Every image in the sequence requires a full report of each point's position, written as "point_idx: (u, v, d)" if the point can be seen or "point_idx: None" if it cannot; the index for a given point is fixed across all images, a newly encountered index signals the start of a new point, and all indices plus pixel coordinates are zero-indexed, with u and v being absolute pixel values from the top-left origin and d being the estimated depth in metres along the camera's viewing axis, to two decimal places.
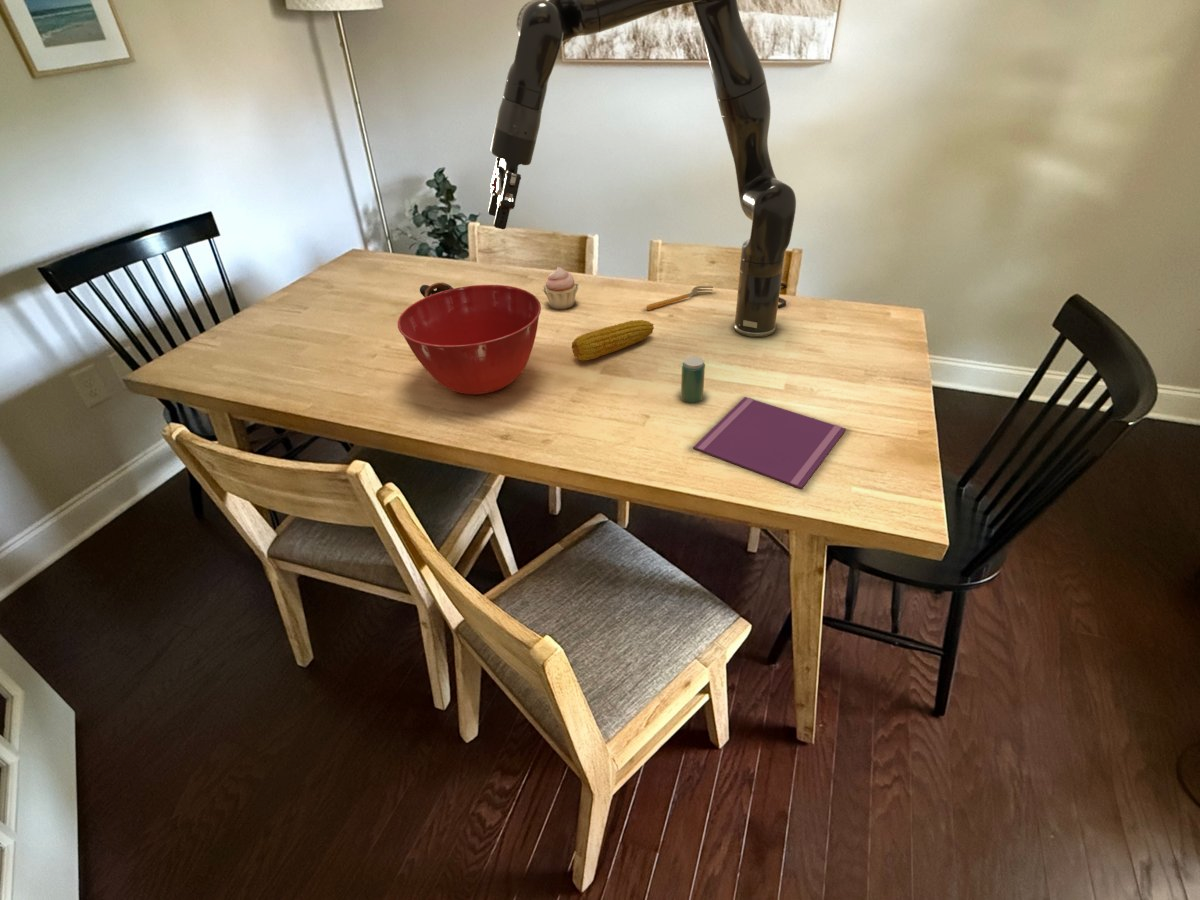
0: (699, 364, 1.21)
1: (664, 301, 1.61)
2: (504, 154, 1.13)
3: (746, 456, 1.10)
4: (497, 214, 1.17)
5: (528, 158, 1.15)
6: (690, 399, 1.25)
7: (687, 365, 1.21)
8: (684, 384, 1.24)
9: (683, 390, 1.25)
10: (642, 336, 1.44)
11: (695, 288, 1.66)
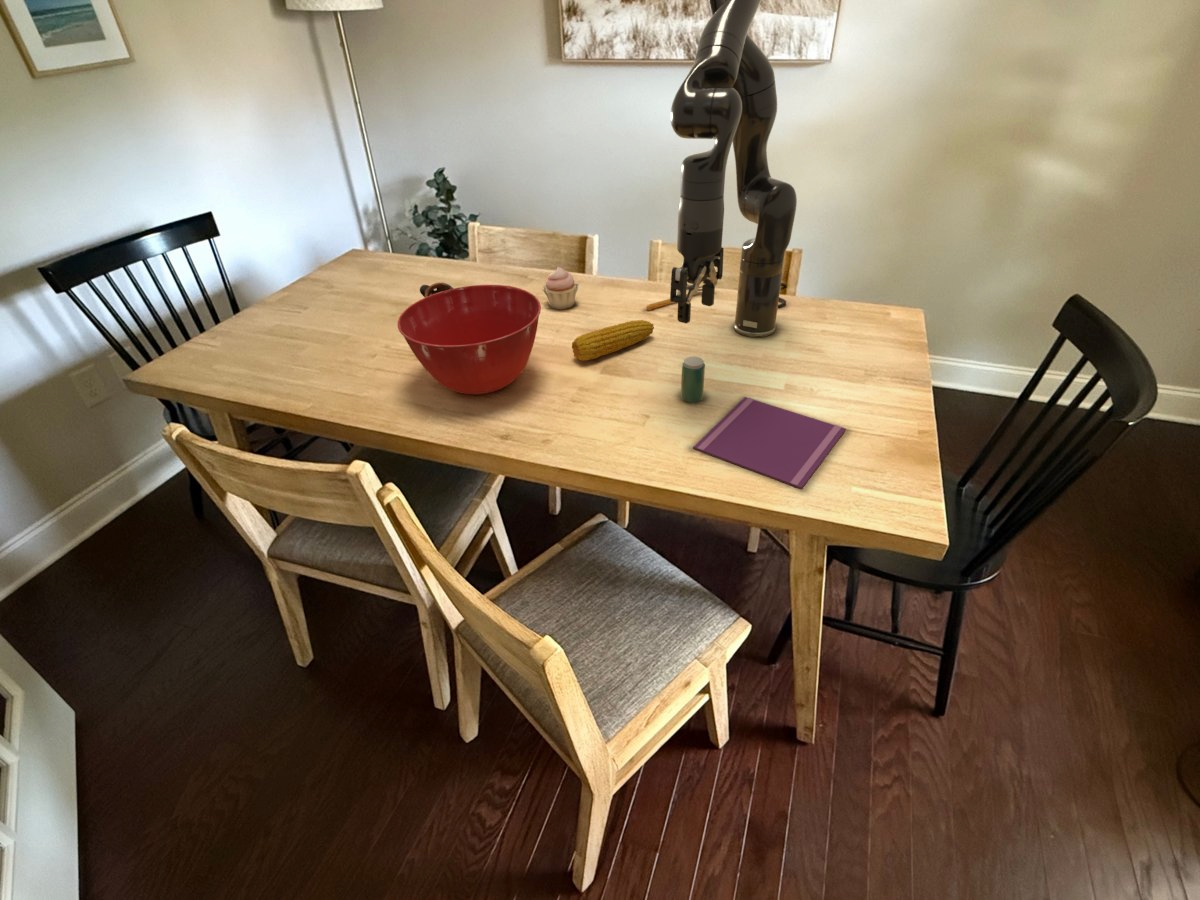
0: (699, 364, 1.21)
1: (664, 301, 1.61)
2: None
3: (746, 456, 1.10)
4: None
5: None
6: (690, 399, 1.25)
7: (687, 365, 1.21)
8: (684, 384, 1.24)
9: (683, 390, 1.25)
10: (642, 336, 1.44)
11: None
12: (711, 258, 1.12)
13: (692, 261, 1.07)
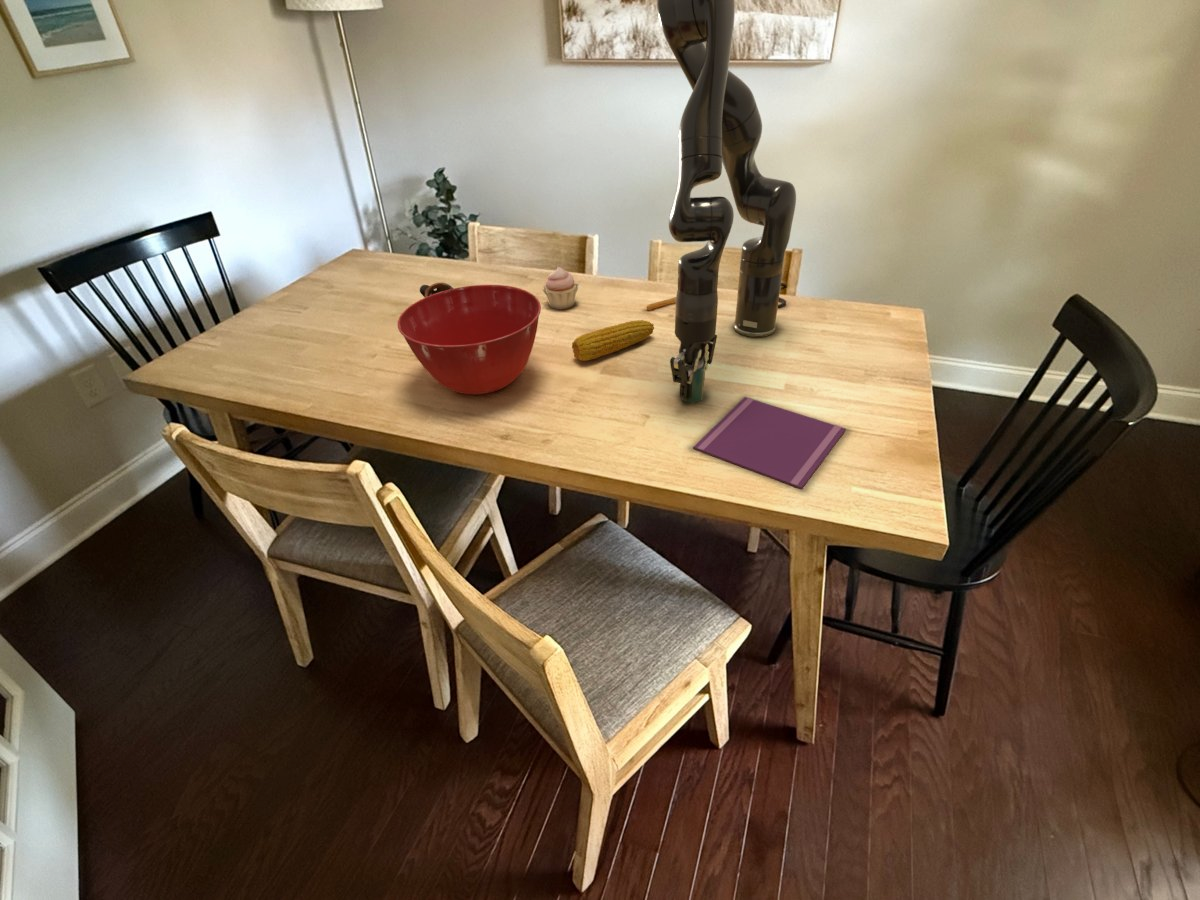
0: (699, 364, 1.21)
1: (664, 301, 1.61)
2: None
3: (746, 456, 1.10)
4: None
5: None
6: (690, 399, 1.25)
7: (687, 365, 1.21)
8: None
9: None
10: (642, 336, 1.44)
11: None
12: None
13: (688, 346, 1.17)
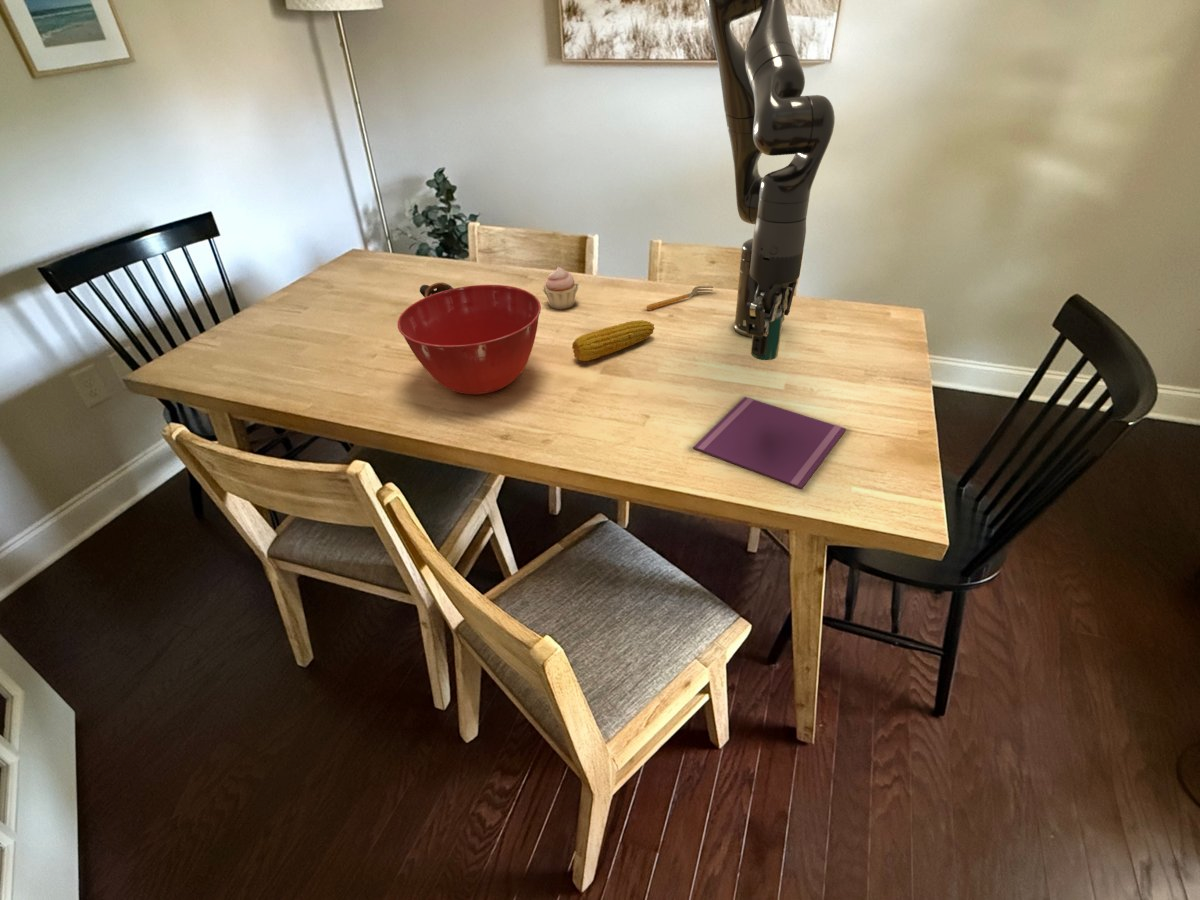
0: (777, 313, 1.01)
1: (664, 301, 1.61)
2: None
3: (746, 456, 1.10)
4: None
5: None
6: (763, 356, 1.05)
7: None
8: None
9: None
10: (643, 336, 1.44)
11: (695, 288, 1.66)
12: (786, 283, 1.01)
13: (768, 289, 0.97)
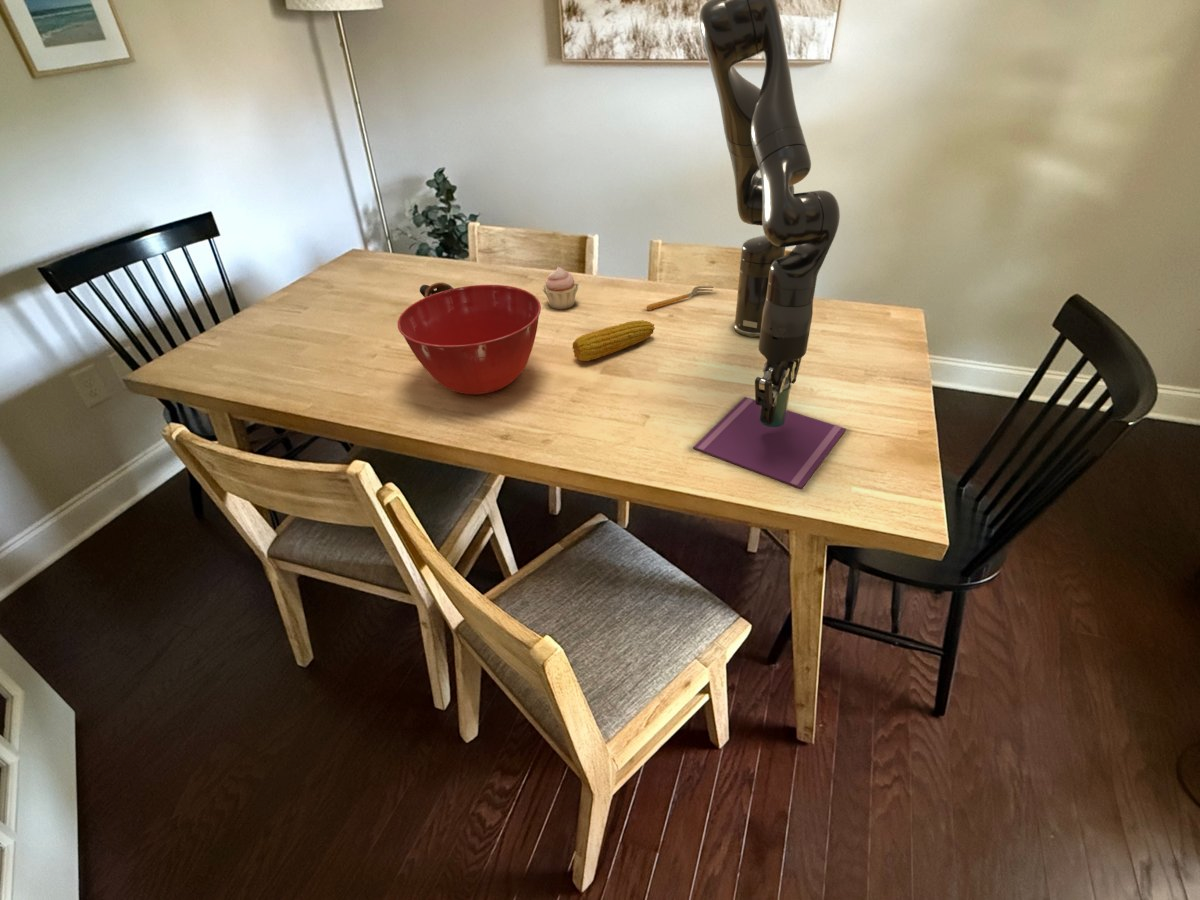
0: (785, 384, 1.06)
1: (664, 301, 1.61)
2: None
3: (746, 456, 1.10)
4: None
5: None
6: None
7: None
8: None
9: None
10: (643, 336, 1.44)
11: (695, 288, 1.66)
12: None
13: (776, 365, 1.01)
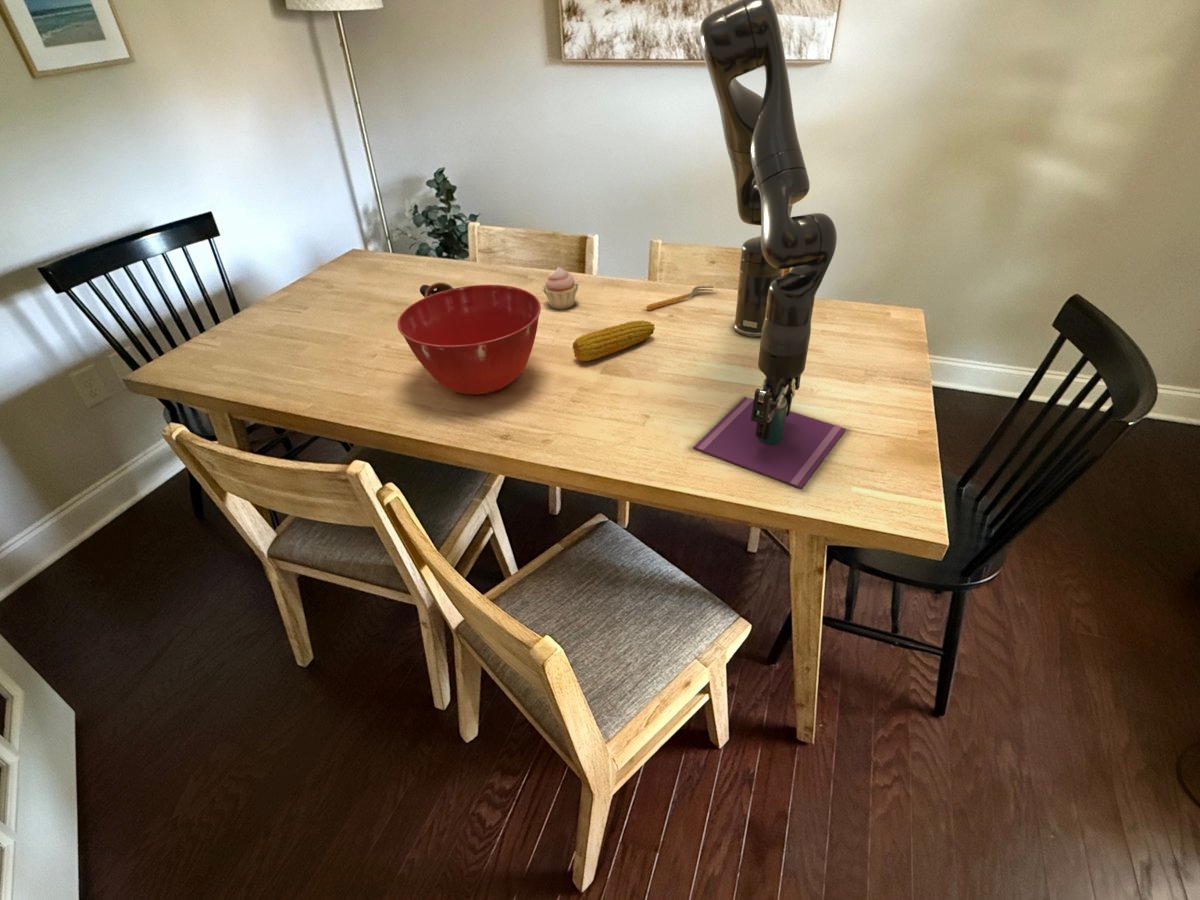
0: (782, 403, 1.08)
1: (664, 301, 1.61)
2: None
3: (746, 456, 1.10)
4: None
5: None
6: (769, 441, 1.12)
7: None
8: None
9: None
10: (643, 337, 1.44)
11: (695, 288, 1.66)
12: None
13: (775, 382, 1.03)
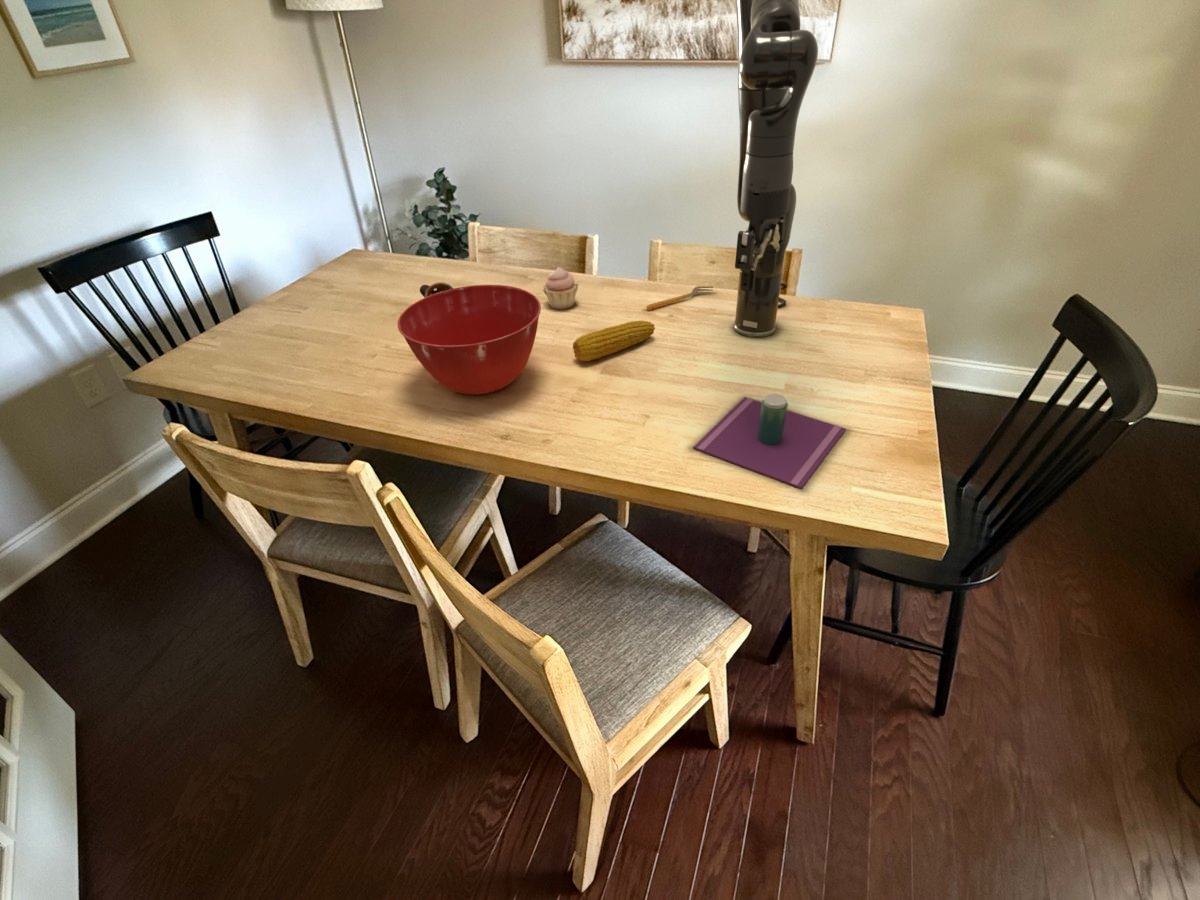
0: (782, 403, 1.08)
1: (664, 301, 1.61)
2: None
3: (746, 456, 1.10)
4: None
5: None
6: (769, 441, 1.12)
7: (769, 404, 1.08)
8: (763, 424, 1.11)
9: (761, 430, 1.12)
10: (643, 337, 1.44)
11: (695, 288, 1.66)
12: (775, 221, 1.05)
13: (759, 224, 1.01)
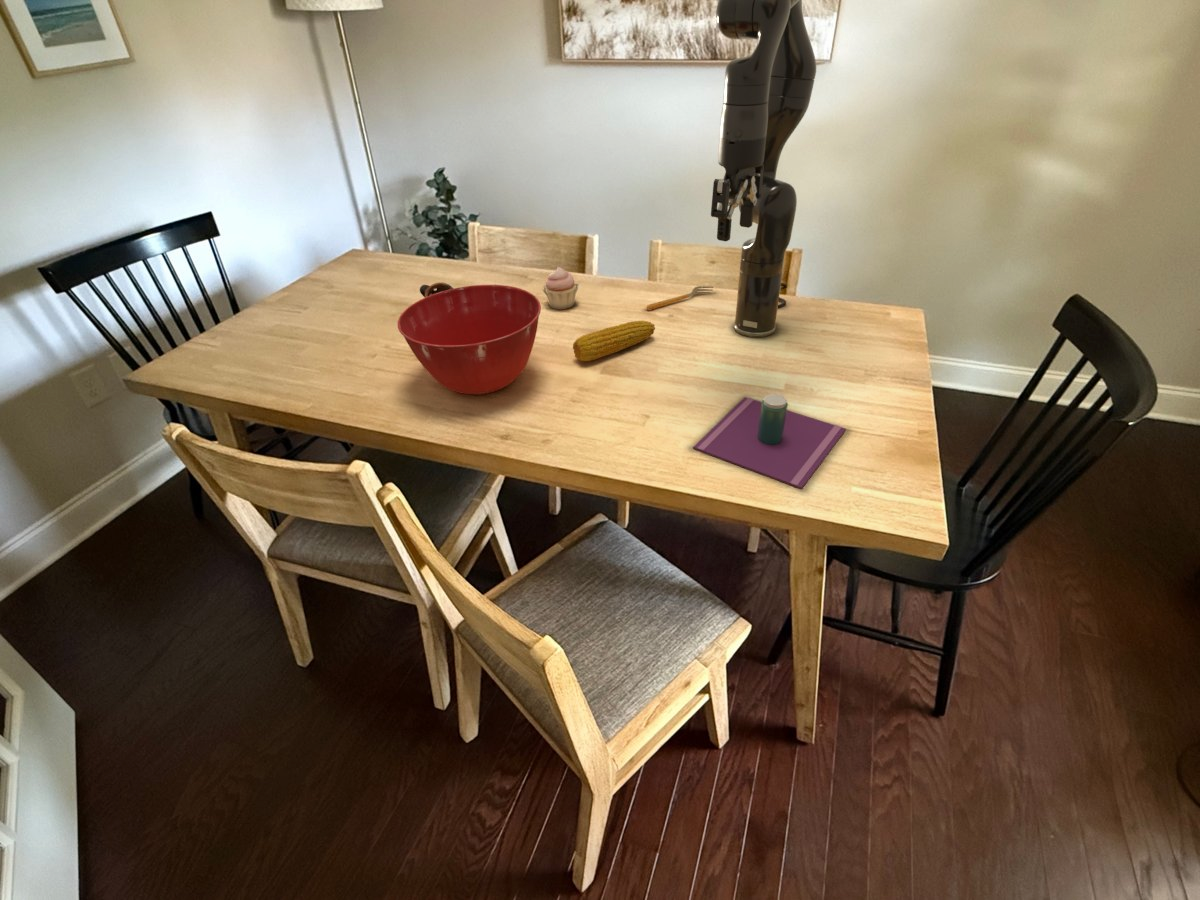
0: (782, 403, 1.08)
1: (664, 301, 1.61)
2: None
3: (746, 456, 1.10)
4: None
5: None
6: (769, 441, 1.12)
7: (769, 404, 1.08)
8: (763, 424, 1.11)
9: (761, 430, 1.12)
10: (643, 337, 1.44)
11: (695, 288, 1.66)
12: (752, 173, 1.09)
13: (734, 173, 1.05)
